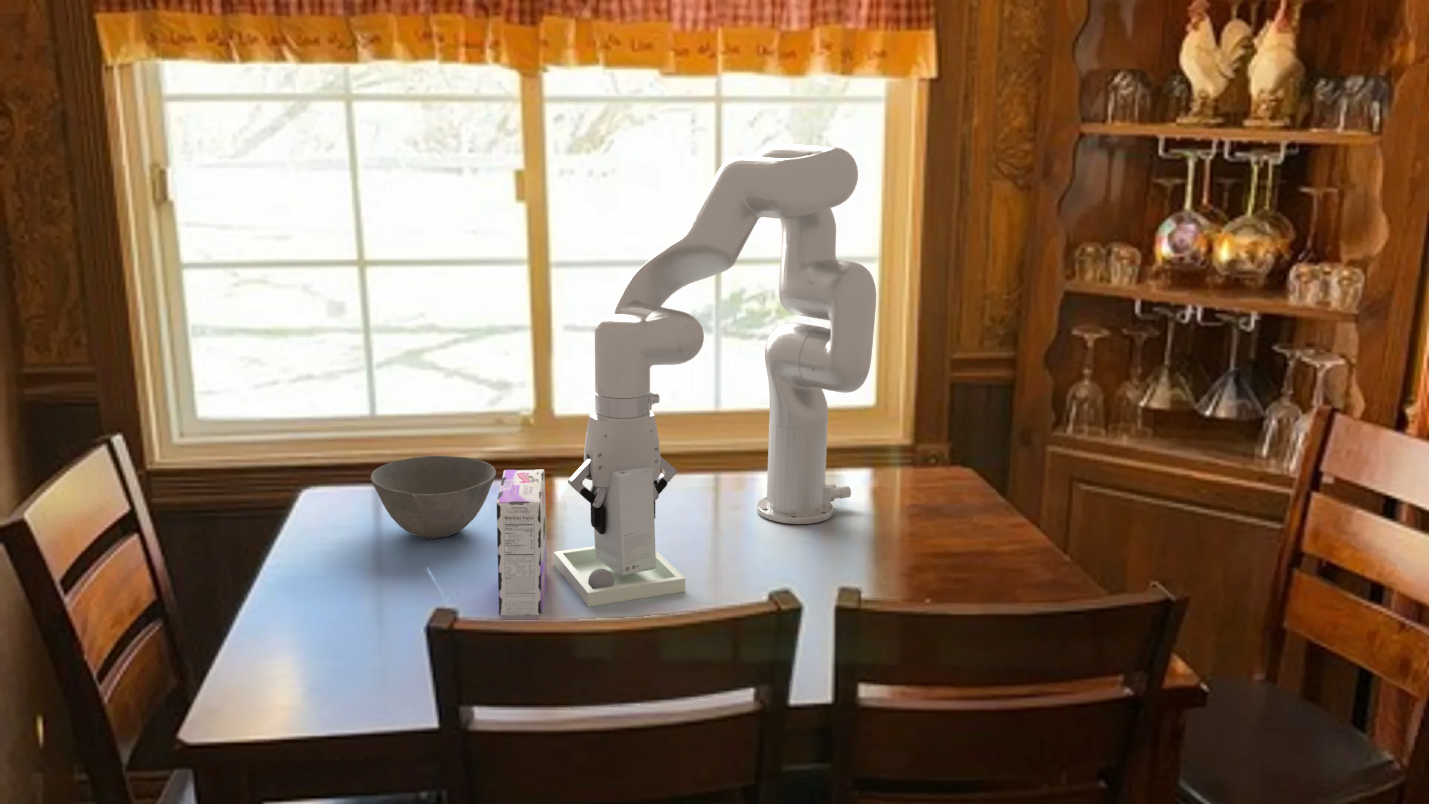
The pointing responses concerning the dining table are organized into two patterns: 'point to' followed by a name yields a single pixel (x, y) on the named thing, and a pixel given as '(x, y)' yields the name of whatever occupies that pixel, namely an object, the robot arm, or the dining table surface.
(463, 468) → the bowl
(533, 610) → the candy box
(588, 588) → the tray
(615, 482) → the skincare box
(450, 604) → the dining table surface
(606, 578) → the ball
